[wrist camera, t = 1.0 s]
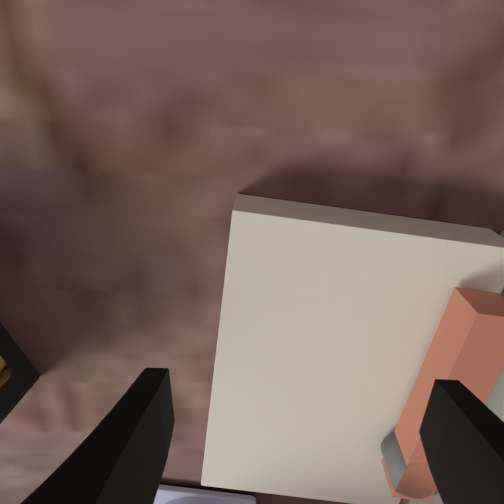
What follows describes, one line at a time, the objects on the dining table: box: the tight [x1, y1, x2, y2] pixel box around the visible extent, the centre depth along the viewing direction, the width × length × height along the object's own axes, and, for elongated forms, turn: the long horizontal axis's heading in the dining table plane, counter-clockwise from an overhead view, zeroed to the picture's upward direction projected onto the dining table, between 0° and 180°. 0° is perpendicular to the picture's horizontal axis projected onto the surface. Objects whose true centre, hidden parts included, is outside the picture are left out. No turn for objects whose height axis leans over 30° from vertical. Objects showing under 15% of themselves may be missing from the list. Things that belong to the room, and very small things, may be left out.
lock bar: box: [381, 287, 504, 502], centre depth 18 cm, size 12×3×2 cm, turn 172°
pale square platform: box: [201, 194, 504, 504], centre depth 20 cm, size 18×24×5 cm
